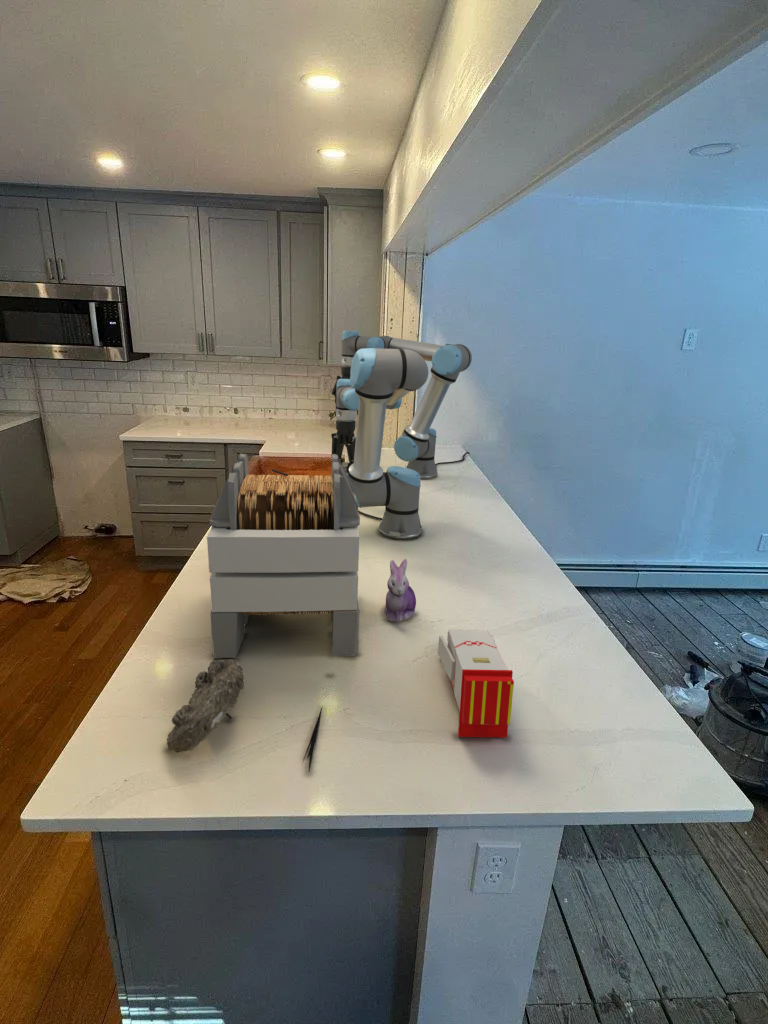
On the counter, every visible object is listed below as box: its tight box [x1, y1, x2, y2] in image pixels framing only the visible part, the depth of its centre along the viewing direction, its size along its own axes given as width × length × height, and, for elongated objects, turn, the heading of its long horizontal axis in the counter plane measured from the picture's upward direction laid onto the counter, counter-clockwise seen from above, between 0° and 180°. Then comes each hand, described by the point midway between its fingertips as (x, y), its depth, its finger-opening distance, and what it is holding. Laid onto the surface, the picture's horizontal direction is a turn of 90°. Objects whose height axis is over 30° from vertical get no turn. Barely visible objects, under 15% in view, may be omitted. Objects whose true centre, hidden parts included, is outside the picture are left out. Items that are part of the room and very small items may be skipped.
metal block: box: [342, 461, 349, 473], centre depth 226 cm, size 6×6×7 cm
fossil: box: [166, 658, 245, 754], centre depth 106 cm, size 22×10×15 cm
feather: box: [301, 673, 332, 771], centre depth 108 cm, size 2×28×2 cm
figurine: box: [384, 558, 417, 623], centre depth 145 cm, size 9×10×15 cm
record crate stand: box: [206, 452, 361, 660], centre depth 135 cm, size 34×33×41 cm
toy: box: [437, 628, 515, 738], centre depth 117 cm, size 12×13×30 cm
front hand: (344, 477), depth 227 cm, fingers closed on metal block, 5 cm apart
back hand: (348, 412), depth 266 cm, fingers open, 13 cm apart
